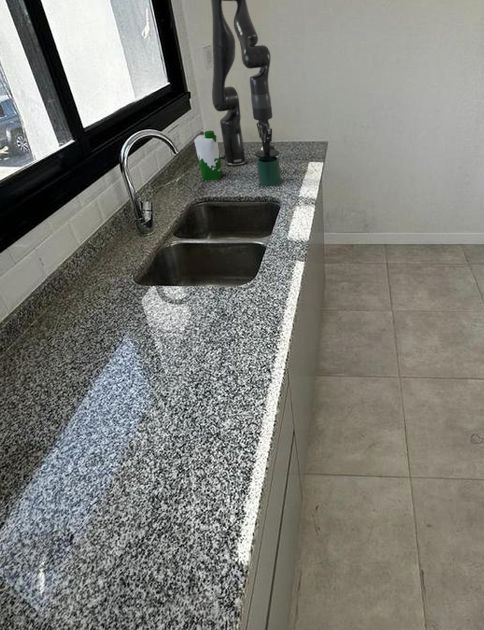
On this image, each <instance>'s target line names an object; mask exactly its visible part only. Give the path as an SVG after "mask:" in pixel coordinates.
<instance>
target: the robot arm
mask: <svg viewBox="0 0 484 630" xmlns="http://www.w3.org/2000/svg"><path fill="white" fill-rule="evenodd" d="M223 2H234V3H235V4H236V10H235V14H234V17H233V29H234V32H235V34H236V37H237V39H238V42H239V46H240V52H241V62H242V64H243V66H244V67H246V68H247V69H250V70H251V69H259V70H258V73H256V74H254V75H251V76H250V77H249V87H250V101H251V108H252V116H253V117H252V118H253V119H254V120H255V121H257V122H256V128H257V132H258V136H259V139H260V141H261V144H262V145H261V146H262V147H263V140H264V146H265V152H270V151H271V149H270V146H271V142H272V140H273V128H272V127H271V124H270V122H269V121H270V120H271V119H272V118H273V108H272V99H271V93H270V87H269V86H270V85H269V77H270V75H269V74H270V67H271V61H272V59H271V57H272V56H271V51H270V49H269V48H268V46H267V45H264V44H259V45H257V44H258V42H259V36H258V33H257V30H256V28H255V25H254V24H253V21H252V18H251V15H250V12H249V8H248V4H247V0H210V5H211V20H212V33H211V34H212V36H211V37H212V39H211V41H212V43H211V45H212V46H211V47H212V85H211V102H212V105H213V108H214V110H215V111H217V112H219V113H221V112H226V113H225V115H224V116H223V117H221V119H220V120H219V127H220V131H221V137H222V143H223V149H224V152H223V153H224V154H223V156H220V160H224V159H225V161H226V165H227V166H229V167H238V166H242V165H244V164H246V163H247V159H246V153H245V147H244V146H245V145H244V138H243V133H242V124H241V119H242V118H241V117H242V116H241V105H240V98H239V97H240V96H239V93H238V91H237V89H236V88H235V87H234V86H231V85H230V86H226V82H227V81H226V80H227V77H228V75H229V73H230V71H231V69H232V67H233V65H234V63H235V59H236V37H235V34H234V33H233V31H232V29H231V27H230V26H229V24H228V22H227V19H226V17H225V15H224V11H223ZM263 150H264V147H263Z"/></svg>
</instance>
